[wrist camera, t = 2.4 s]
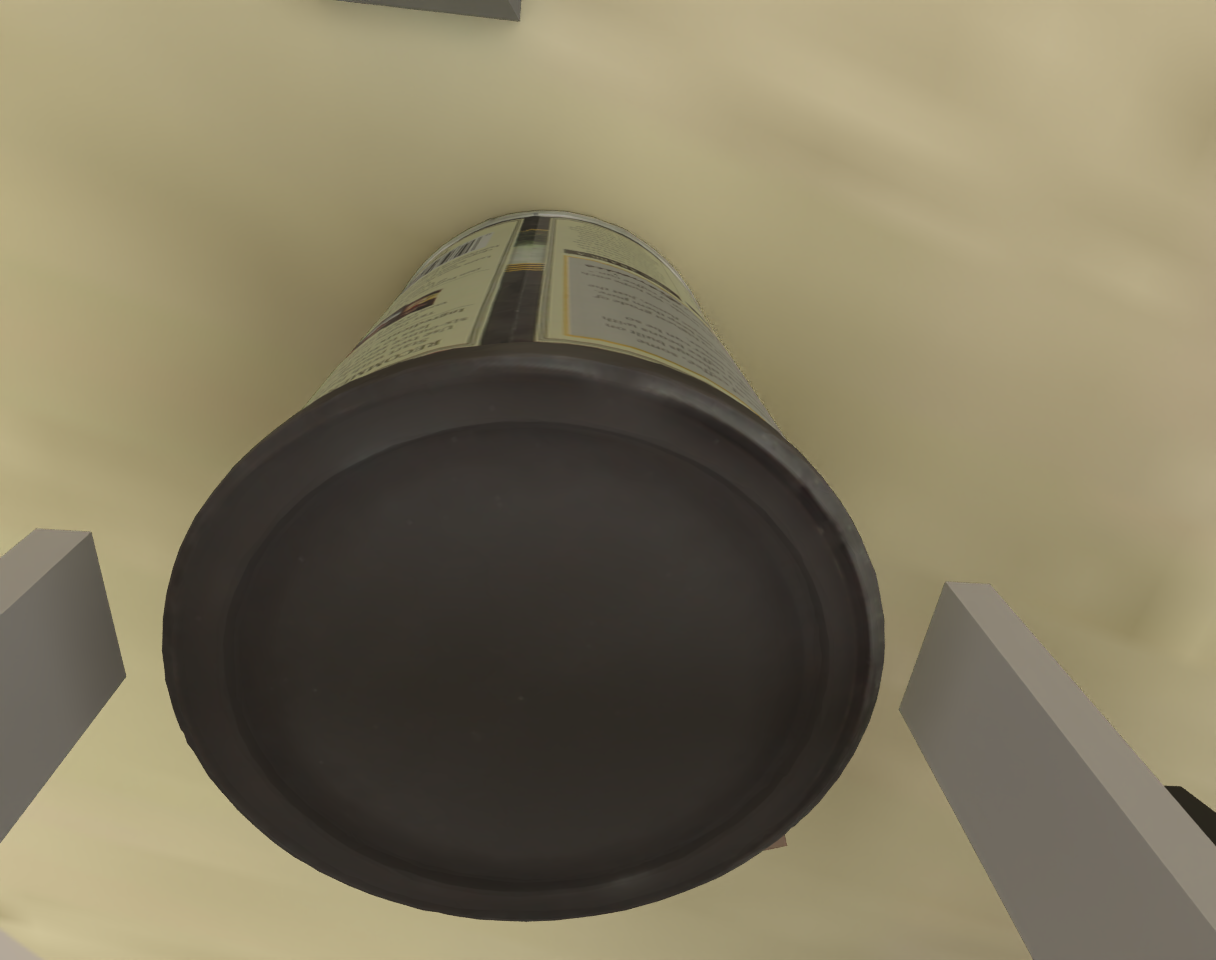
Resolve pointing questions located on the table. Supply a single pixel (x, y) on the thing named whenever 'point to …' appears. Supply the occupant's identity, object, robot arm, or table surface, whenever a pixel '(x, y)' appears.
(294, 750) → the coffee can
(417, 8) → the blue-gray block
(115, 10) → the table surface
